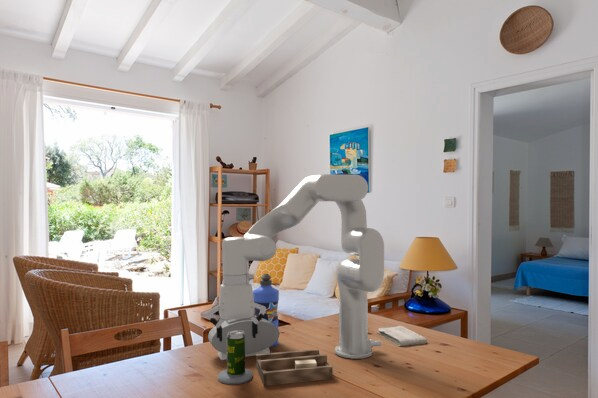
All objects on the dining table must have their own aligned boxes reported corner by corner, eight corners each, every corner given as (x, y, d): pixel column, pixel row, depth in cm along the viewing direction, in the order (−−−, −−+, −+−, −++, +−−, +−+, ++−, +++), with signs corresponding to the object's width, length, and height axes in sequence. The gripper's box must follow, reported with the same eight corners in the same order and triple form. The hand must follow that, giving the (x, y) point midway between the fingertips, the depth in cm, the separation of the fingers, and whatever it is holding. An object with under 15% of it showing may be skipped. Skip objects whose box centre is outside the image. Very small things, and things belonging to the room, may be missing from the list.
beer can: (237, 369, 130) (237, 329, 130) (249, 373, 126) (249, 332, 126) (222, 374, 126) (222, 333, 126) (235, 379, 122) (235, 336, 122)
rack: (318, 361, 138) (318, 345, 138) (332, 378, 125) (332, 361, 125) (256, 367, 133) (256, 351, 133) (263, 385, 120) (263, 367, 120)
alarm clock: (273, 347, 153) (273, 310, 153) (279, 352, 147) (279, 314, 147) (207, 355, 144) (207, 317, 144) (211, 362, 138) (211, 321, 138)
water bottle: (247, 343, 157) (247, 274, 157) (268, 338, 163) (268, 271, 163) (263, 349, 150) (263, 277, 150) (284, 343, 156) (284, 274, 156)
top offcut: (314, 367, 128) (314, 359, 128) (316, 371, 125) (316, 363, 125) (294, 368, 127) (294, 360, 127) (295, 372, 124) (295, 364, 124)
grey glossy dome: (250, 369, 132) (250, 366, 132) (255, 382, 122) (255, 379, 122) (216, 372, 129) (216, 369, 129) (219, 386, 120) (219, 383, 120)
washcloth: (401, 331, 174) (401, 323, 174) (428, 344, 157) (428, 336, 157) (374, 334, 170) (374, 326, 170) (400, 348, 153) (400, 339, 153)
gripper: (263, 275, 132) (264, 331, 132) (205, 279, 128) (206, 337, 128) (267, 279, 125) (269, 339, 125) (206, 284, 120) (207, 345, 120)
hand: (237, 338), depth 126 cm, fingers open, 9 cm apart
